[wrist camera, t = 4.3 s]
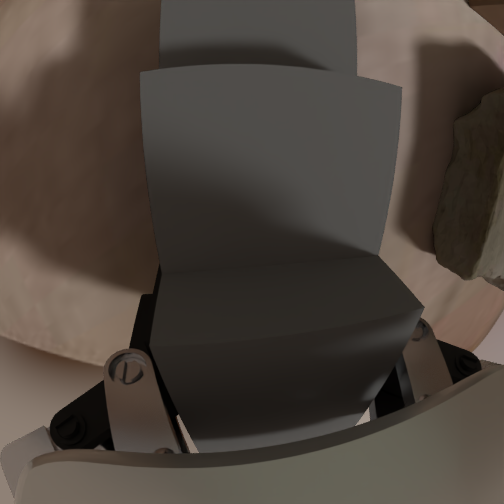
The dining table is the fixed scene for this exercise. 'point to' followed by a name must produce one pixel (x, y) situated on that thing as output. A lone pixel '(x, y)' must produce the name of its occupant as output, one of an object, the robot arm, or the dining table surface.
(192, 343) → the grey stepped block
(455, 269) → the marble piece
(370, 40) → the dining table surface
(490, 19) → the wood grain plank
